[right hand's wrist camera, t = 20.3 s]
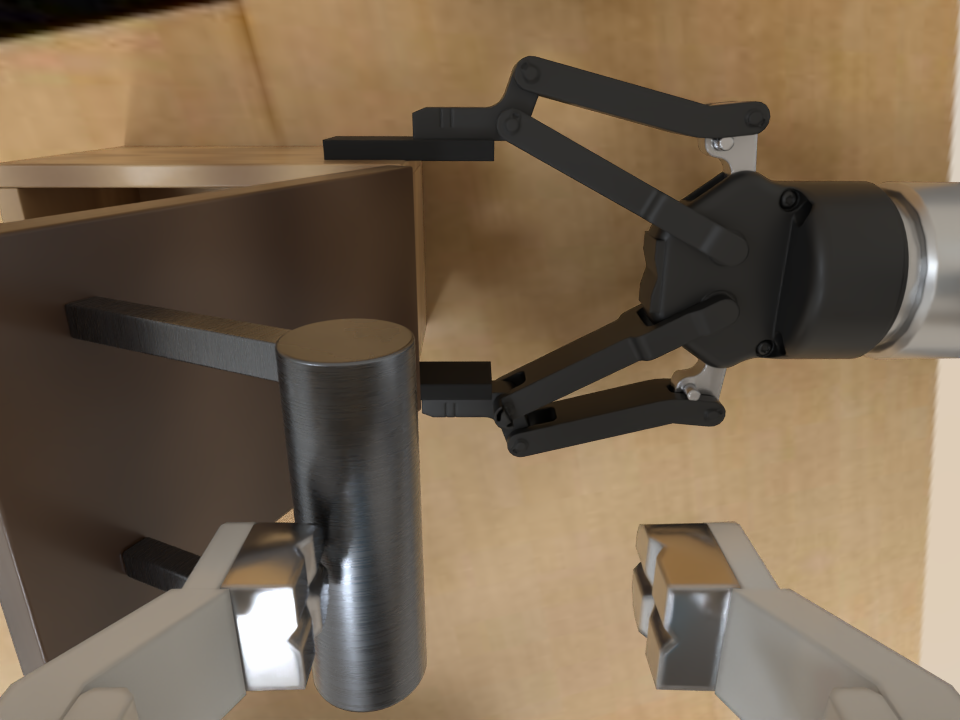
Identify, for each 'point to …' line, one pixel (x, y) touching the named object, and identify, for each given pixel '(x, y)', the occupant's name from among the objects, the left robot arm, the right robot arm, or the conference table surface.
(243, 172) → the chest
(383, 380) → the door
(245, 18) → the conference table surface
